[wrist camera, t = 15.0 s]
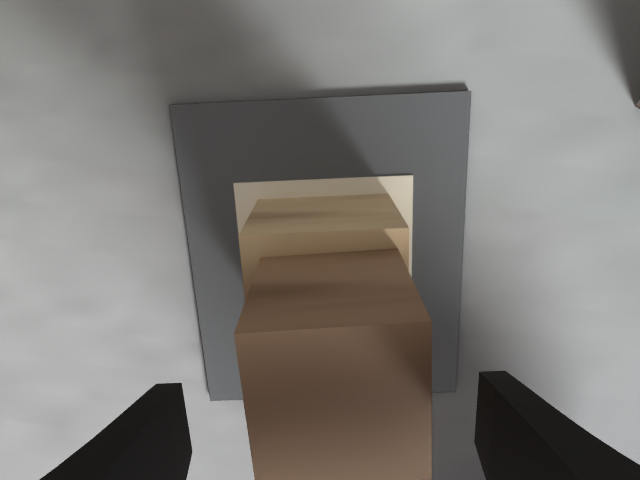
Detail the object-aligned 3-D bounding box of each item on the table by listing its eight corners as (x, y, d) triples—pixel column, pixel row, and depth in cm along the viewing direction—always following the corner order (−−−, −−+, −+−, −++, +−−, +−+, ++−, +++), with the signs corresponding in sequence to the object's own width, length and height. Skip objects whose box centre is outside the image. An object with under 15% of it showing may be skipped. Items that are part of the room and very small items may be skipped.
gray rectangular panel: (454, 388, 24) (456, 393, 23) (211, 396, 24) (209, 402, 23) (469, 90, 19) (471, 90, 19) (171, 104, 19) (168, 105, 19)
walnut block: (400, 367, 17) (431, 479, 12) (274, 375, 17) (256, 489, 12) (398, 248, 16) (431, 321, 11) (260, 257, 16) (233, 333, 11)
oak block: (388, 311, 22) (407, 375, 17) (268, 316, 22) (253, 381, 17) (388, 193, 20) (409, 228, 15) (257, 199, 20) (238, 235, 15)
